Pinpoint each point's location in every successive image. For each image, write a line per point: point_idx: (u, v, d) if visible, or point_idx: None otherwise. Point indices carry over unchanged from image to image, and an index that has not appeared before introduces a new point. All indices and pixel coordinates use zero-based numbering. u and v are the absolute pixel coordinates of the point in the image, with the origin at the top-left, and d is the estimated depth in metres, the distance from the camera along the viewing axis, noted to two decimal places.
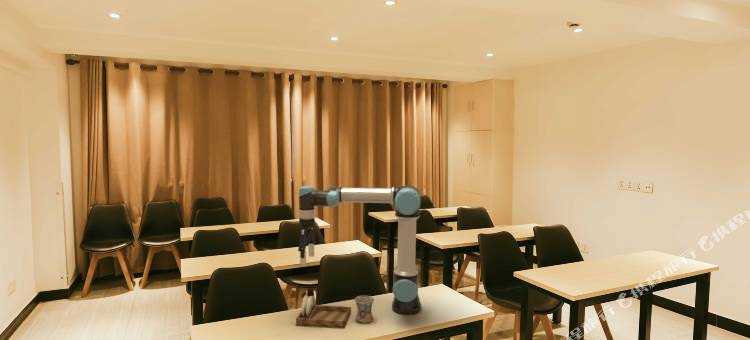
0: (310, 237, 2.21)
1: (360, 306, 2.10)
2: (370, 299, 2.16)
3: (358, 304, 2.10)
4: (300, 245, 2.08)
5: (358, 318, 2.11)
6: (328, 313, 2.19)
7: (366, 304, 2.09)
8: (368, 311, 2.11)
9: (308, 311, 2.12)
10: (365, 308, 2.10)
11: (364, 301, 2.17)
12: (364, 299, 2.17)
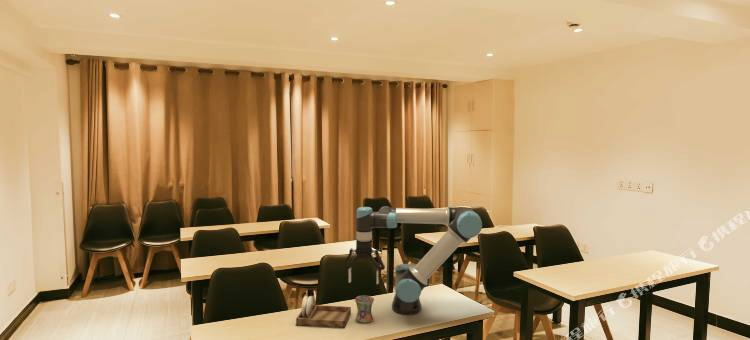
0: None
1: (360, 306, 2.10)
2: (370, 299, 2.16)
3: (358, 304, 2.10)
4: None
5: (358, 318, 2.11)
6: (328, 313, 2.19)
7: (366, 304, 2.09)
8: (368, 311, 2.11)
9: (308, 311, 2.12)
10: (365, 308, 2.10)
11: (364, 301, 2.17)
12: (364, 299, 2.17)
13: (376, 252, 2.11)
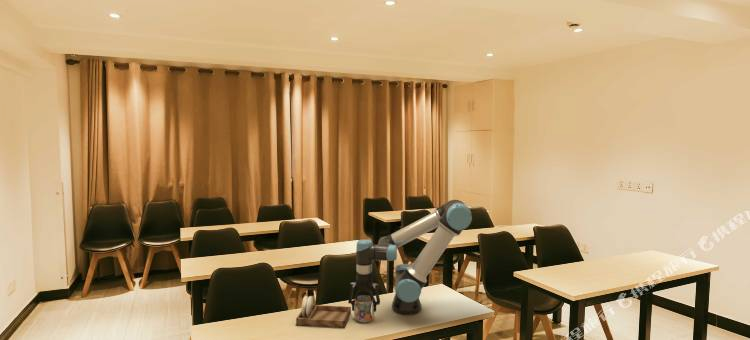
0: None
1: (359, 306, 2.10)
2: (370, 299, 2.16)
3: (357, 304, 2.10)
4: None
5: (357, 318, 2.12)
6: (328, 313, 2.19)
7: (366, 304, 2.09)
8: (367, 311, 2.11)
9: (308, 311, 2.12)
10: (364, 308, 2.10)
11: (364, 301, 2.17)
12: (364, 299, 2.17)
13: (376, 286, 2.12)
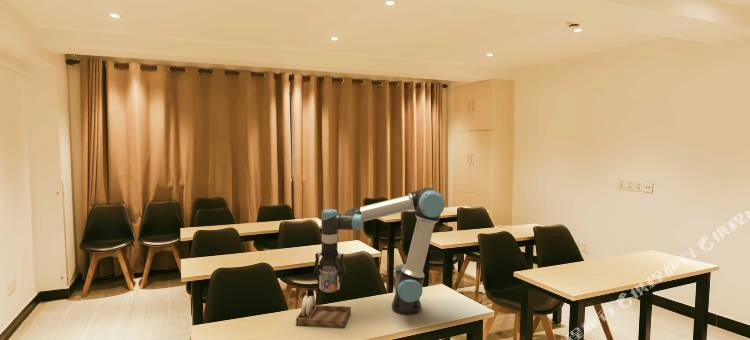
0: None
1: (324, 276, 2.08)
2: (335, 269, 2.13)
3: (322, 274, 2.08)
4: None
5: (322, 288, 2.09)
6: (328, 313, 2.19)
7: (330, 274, 2.07)
8: (332, 281, 2.09)
9: (308, 311, 2.12)
10: (329, 278, 2.08)
11: (329, 271, 2.14)
12: (330, 270, 2.15)
13: (341, 256, 2.10)
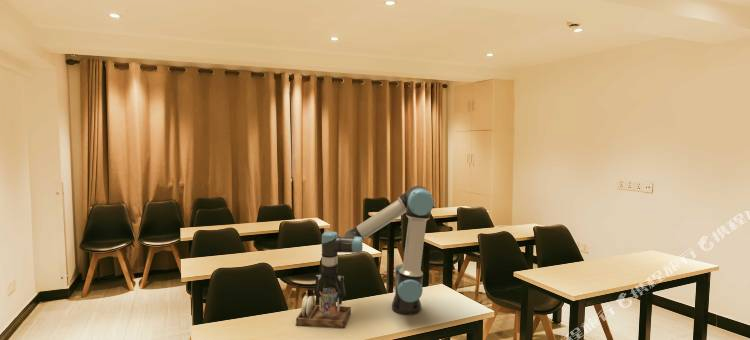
0: None
1: (324, 298, 2.09)
2: (335, 291, 2.14)
3: (322, 296, 2.09)
4: None
5: (322, 310, 2.10)
6: None
7: (330, 296, 2.08)
8: (332, 303, 2.10)
9: (308, 311, 2.12)
10: (329, 300, 2.09)
11: (329, 293, 2.15)
12: (330, 292, 2.16)
13: (341, 279, 2.11)
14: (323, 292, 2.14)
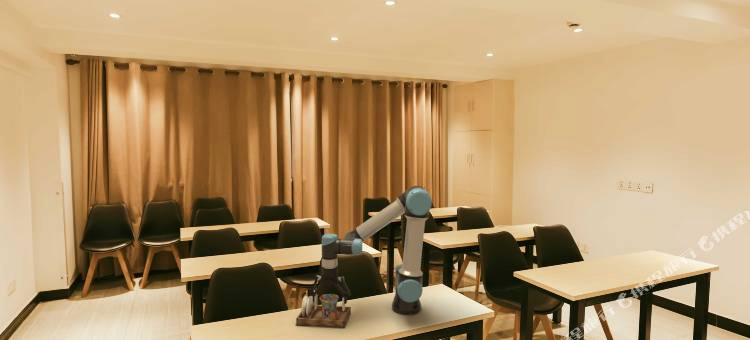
0: None
1: (324, 304, 2.09)
2: (335, 298, 2.15)
3: (322, 302, 2.09)
4: None
5: (322, 317, 2.10)
6: None
7: (331, 303, 2.08)
8: (332, 310, 2.10)
9: (308, 311, 2.12)
10: (329, 306, 2.09)
11: (330, 300, 2.16)
12: (330, 298, 2.16)
13: (341, 279, 2.11)
14: (323, 298, 2.14)
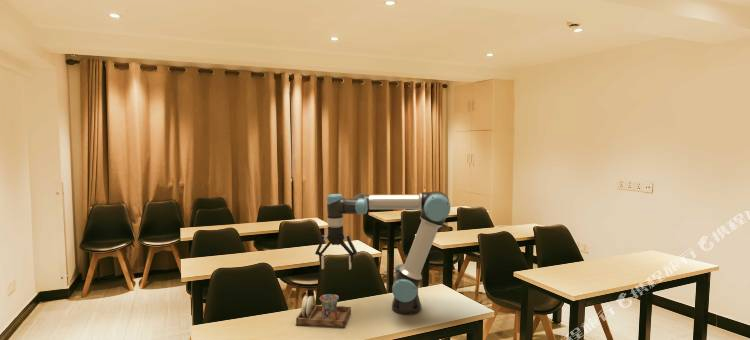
0: None
1: (324, 305, 2.09)
2: (335, 298, 2.15)
3: (322, 302, 2.09)
4: None
5: (322, 317, 2.10)
6: None
7: (330, 303, 2.08)
8: (332, 310, 2.10)
9: (308, 311, 2.12)
10: (329, 307, 2.09)
11: (330, 300, 2.16)
12: (330, 298, 2.16)
13: (348, 238, 2.14)
14: (323, 298, 2.14)
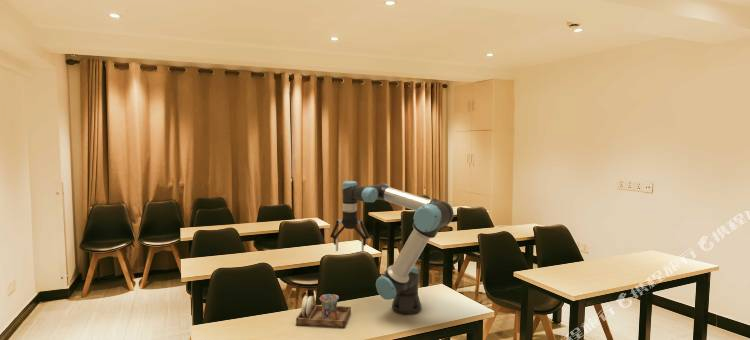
0: None
1: (324, 305, 2.09)
2: (335, 298, 2.15)
3: (322, 303, 2.09)
4: None
5: (322, 317, 2.10)
6: None
7: (330, 303, 2.08)
8: (332, 310, 2.10)
9: (308, 311, 2.12)
10: (329, 307, 2.09)
11: (330, 300, 2.16)
12: (330, 298, 2.16)
13: (361, 222, 2.28)
14: (323, 298, 2.14)
